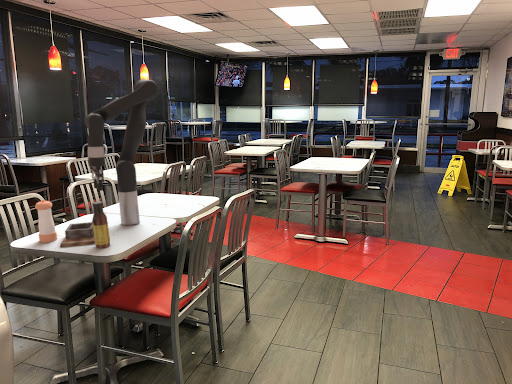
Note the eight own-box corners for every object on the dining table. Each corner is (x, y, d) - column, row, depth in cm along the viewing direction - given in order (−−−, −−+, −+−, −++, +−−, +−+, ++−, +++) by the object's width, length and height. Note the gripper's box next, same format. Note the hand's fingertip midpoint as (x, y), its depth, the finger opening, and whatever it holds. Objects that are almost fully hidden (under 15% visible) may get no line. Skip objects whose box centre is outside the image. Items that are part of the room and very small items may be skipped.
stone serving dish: (99, 231, 201) (98, 220, 200) (94, 243, 182) (93, 231, 181) (69, 234, 197) (67, 223, 196) (60, 247, 178) (59, 235, 177)
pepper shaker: (52, 236, 194) (47, 197, 190) (59, 239, 190) (54, 199, 186) (36, 240, 189) (31, 200, 185) (43, 243, 184) (38, 202, 180)
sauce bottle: (101, 243, 182) (96, 200, 178) (113, 244, 180) (109, 200, 176) (91, 248, 176) (86, 203, 172) (104, 249, 174) (99, 204, 170)
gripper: (108, 156, 192) (110, 190, 195) (101, 154, 203) (102, 186, 206) (91, 157, 188) (93, 192, 191) (85, 155, 199) (87, 187, 202)
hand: (98, 189), depth 198 cm, fingers open, 8 cm apart
